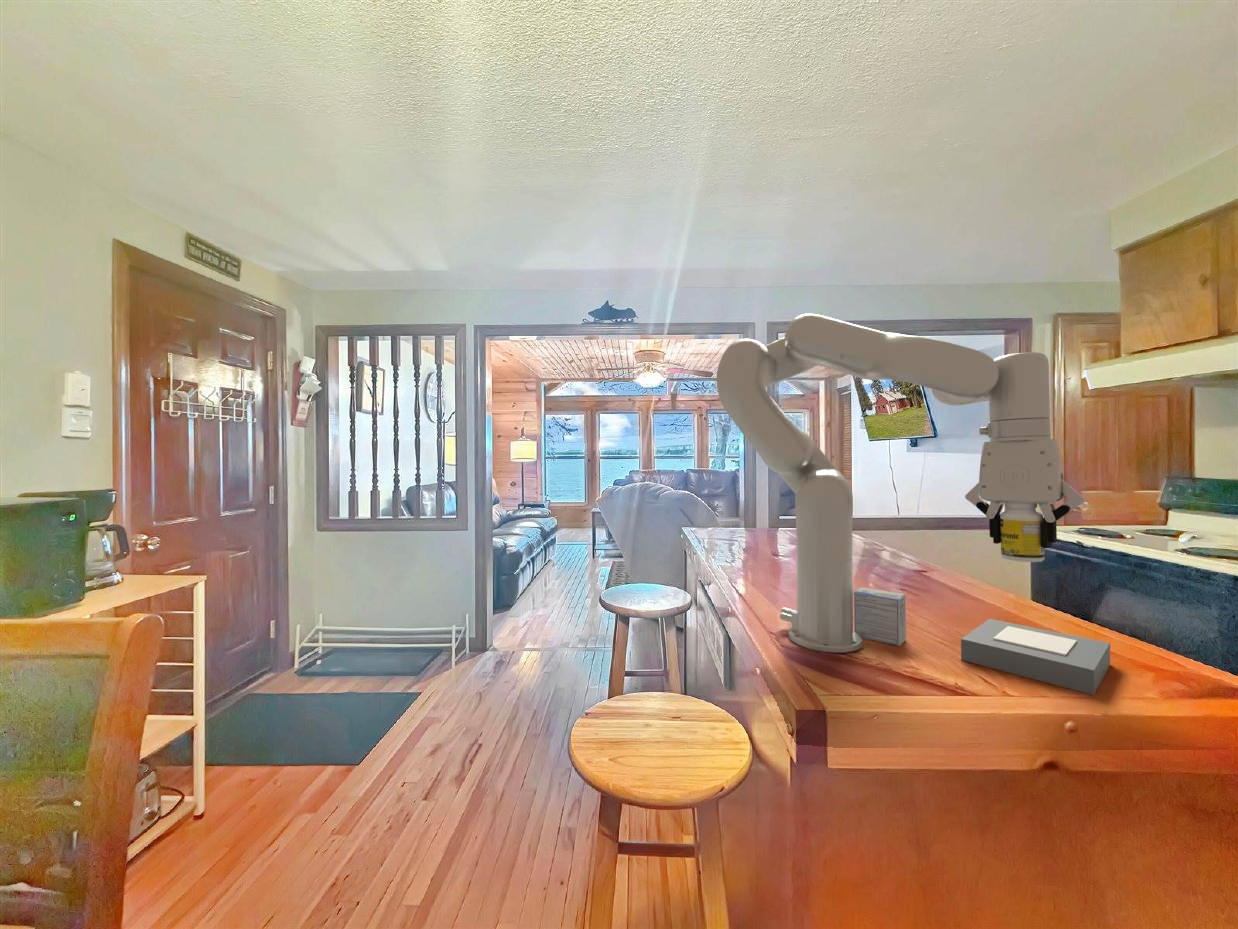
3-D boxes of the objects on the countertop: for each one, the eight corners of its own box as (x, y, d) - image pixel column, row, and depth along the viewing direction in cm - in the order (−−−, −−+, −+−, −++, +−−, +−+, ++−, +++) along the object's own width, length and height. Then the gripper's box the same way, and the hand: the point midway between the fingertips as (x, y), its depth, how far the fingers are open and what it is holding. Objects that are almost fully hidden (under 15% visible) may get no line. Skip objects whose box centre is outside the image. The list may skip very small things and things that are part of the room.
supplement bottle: (993, 556, 81) (992, 497, 81) (1030, 556, 80) (1028, 496, 80) (1014, 562, 76) (1012, 499, 76) (1053, 563, 75) (1052, 499, 75)
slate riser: (961, 659, 81) (961, 637, 81) (989, 637, 92) (989, 617, 91) (1094, 695, 69) (1094, 668, 69) (1110, 664, 79) (1110, 641, 79)
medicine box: (906, 640, 90) (906, 593, 90) (900, 647, 87) (900, 598, 87) (860, 630, 96) (860, 586, 96) (853, 636, 93) (853, 591, 93)
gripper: (949, 434, 83) (951, 541, 83) (1087, 427, 69) (1090, 555, 69) (965, 435, 87) (967, 536, 87) (1098, 428, 74) (1101, 548, 74)
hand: (1022, 543), depth 78 cm, fingers closed on supplement bottle, 5 cm apart
